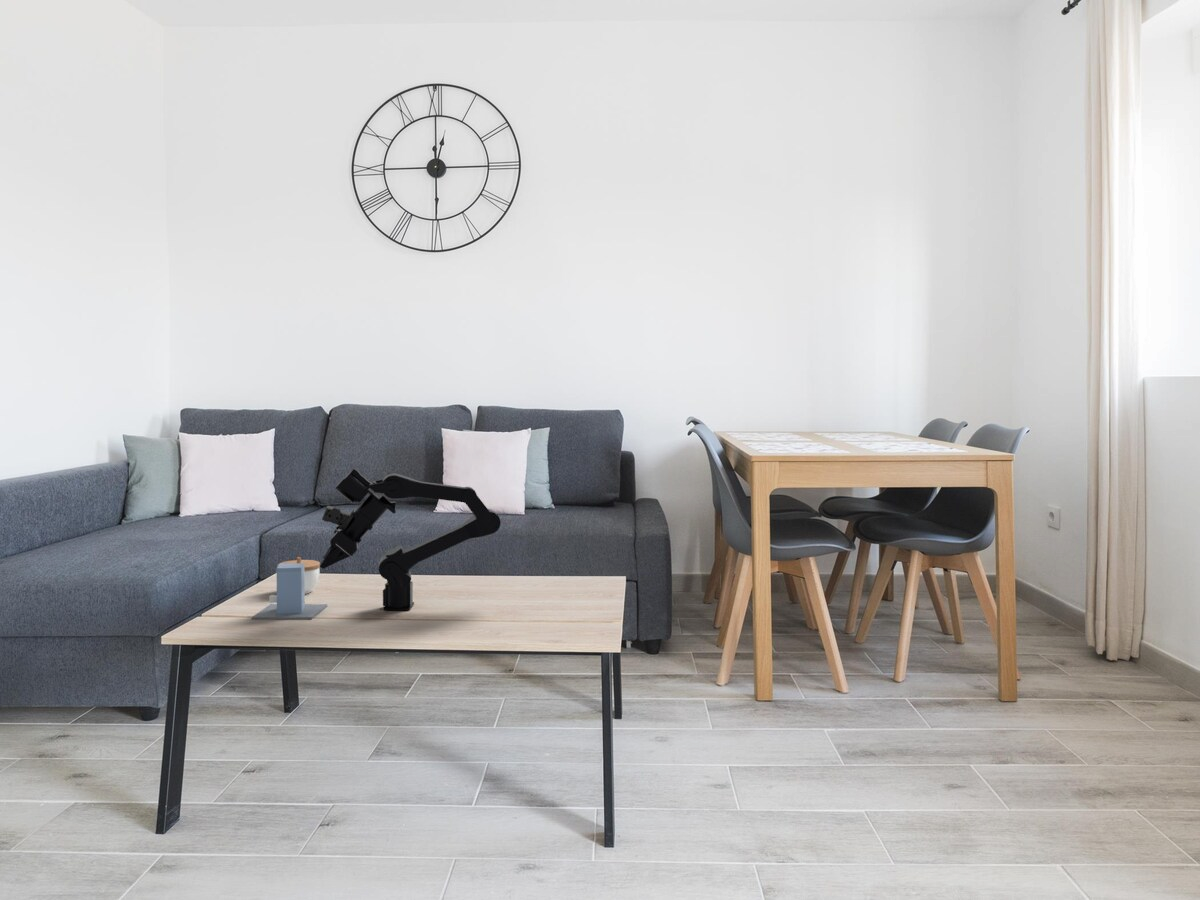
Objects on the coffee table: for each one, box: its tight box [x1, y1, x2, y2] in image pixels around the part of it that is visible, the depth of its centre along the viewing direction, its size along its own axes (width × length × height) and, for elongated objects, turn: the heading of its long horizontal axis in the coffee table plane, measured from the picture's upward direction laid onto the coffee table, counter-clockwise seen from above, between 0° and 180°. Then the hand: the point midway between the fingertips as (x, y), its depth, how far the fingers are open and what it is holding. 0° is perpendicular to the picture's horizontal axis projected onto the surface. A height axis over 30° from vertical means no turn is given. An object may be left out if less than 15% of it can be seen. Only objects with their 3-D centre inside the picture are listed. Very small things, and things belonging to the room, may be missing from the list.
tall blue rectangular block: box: [268, 563, 306, 614], centre depth 194 cm, size 8×6×11 cm
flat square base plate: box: [251, 603, 328, 620], centre depth 195 cm, size 14×12×4 cm
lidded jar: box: [276, 556, 321, 595], centre depth 215 cm, size 11×11×9 cm
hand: (323, 563), depth 196 cm, fingers open, 9 cm apart
